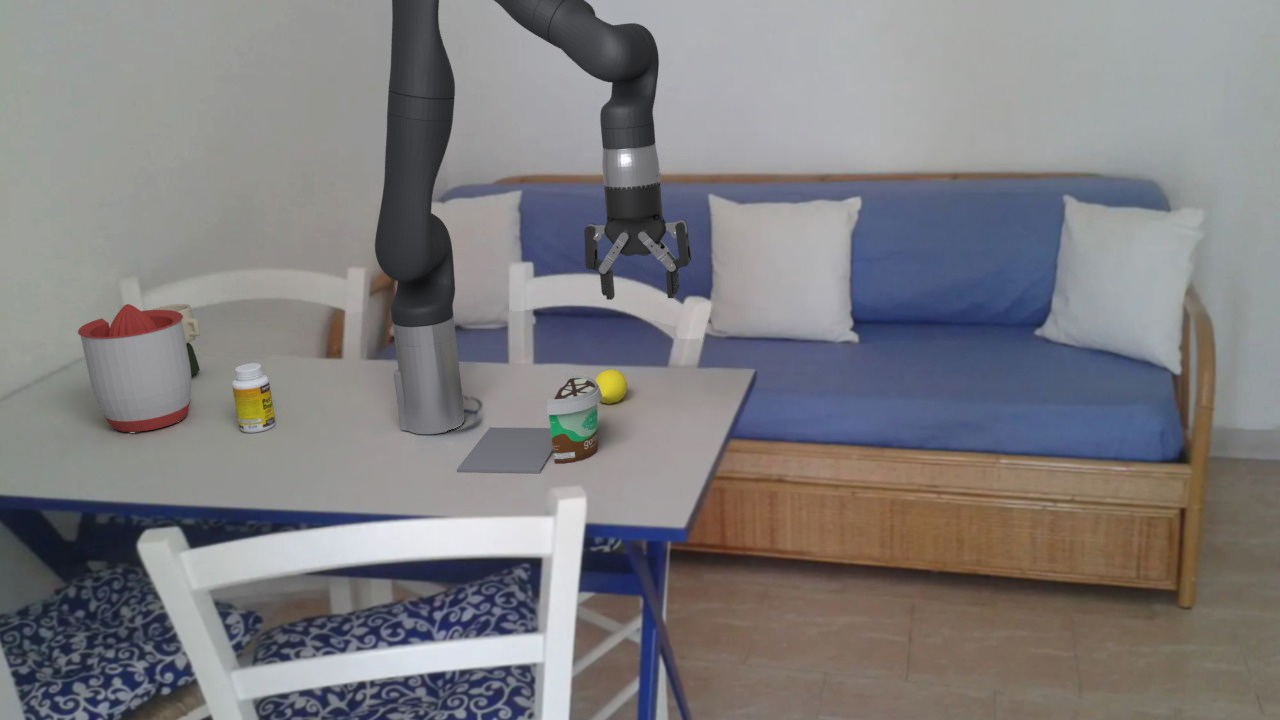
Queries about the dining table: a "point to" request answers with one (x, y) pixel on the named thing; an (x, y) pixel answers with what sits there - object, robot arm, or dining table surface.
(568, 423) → the food container
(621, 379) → the lemon
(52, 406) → the dining table surface
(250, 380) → the supplement bottle
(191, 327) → the character mug
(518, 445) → the charcoal mat
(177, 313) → the citrus juicer
